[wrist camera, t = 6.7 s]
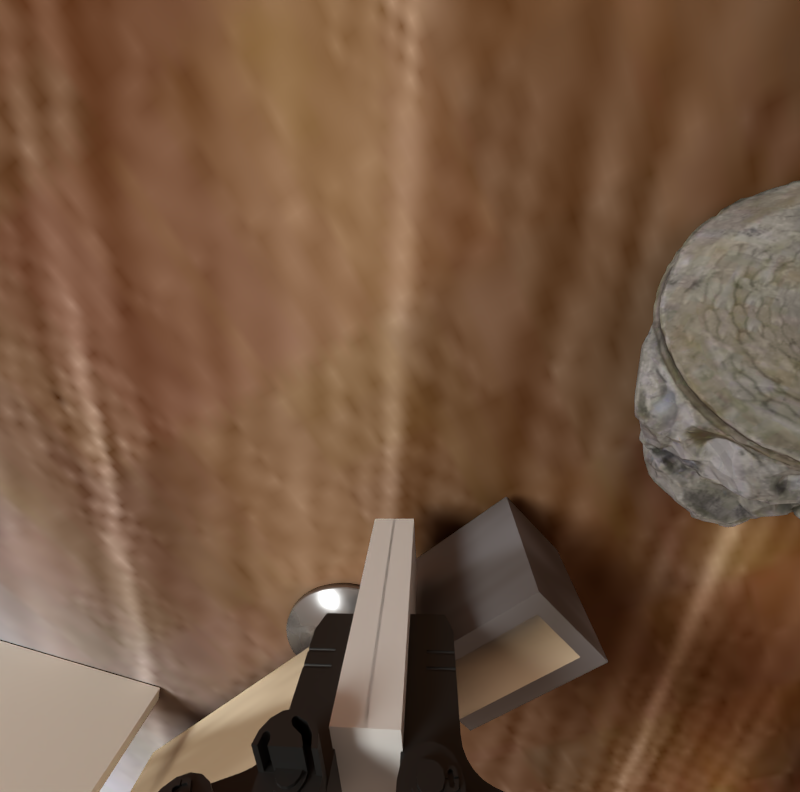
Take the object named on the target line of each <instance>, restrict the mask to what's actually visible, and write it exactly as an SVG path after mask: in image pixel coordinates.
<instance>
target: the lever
mask: <svg viewBox="0 0 800 792" xmlns="http://www.w3.org/2000/svg"><path fill="white" fill-rule="evenodd" d="M416 568H417V594H416V614H439V615H445V616H446V618H447V620H448V622H449V624H450V626H451V628H452V630H453V633H454V648H455V662H456V677H457V691H458V706H459V720H460V722H461V723H462V724H463V725H465V726H466V727H467V728H468V729H469V730H470V731H471V730H473V729H475V728H477V727H479V726H481V725H483V724H485V723H487V722H489V721H491V720H493V719H495V718H497V717H499V716H501V715H503V714H505V713H507V712H509V711H511V710H513V709H515V708H517V707H519V706H521V705H523V704H525V703H527V702H529V701H531V700H533V699H535V698H537V697H539V696H541V695H543V694H545V693H547V692H549V691H551V690H553V689H555V688H557V687H559V686H561V685H563V684H565V683H567V682H569V681H571V680H573V679H575V678H577V677H579V676H581V675H583V674H585V673H587V672H589V671H591V670H593V669H595V668H597V667H599V666H601V665H603V664H605V663H607V662H608V660H607V658H606V656H605V653H604V651H603V649H602V647H601V645H600V643H599V640H598V638H597V636H596V634H595V632H594V630H593V627H592V625H591V623H590V621H589V619H588V616H587V614H586V612H585V610H584V608H583V606H582V603H581V601H580V599H579V597H578V595H577V593H576V590H575V588H574V586H573V584H572V582H571V579H570V577H569V575H568V573H567V571H566V569H565V566H564V564H563V562H562V560H561V558H560V556H559V553H558V551H557V549H556V548H555V547H554V546H553V545H552V544H551V543H550V542H549V541H548V540H547V539H546V538H545V537H544V536H543V535H542V534H541V533H540V532H539V530H538V529H537V528H536V527H535V526H534V525H533V524H532V523H531V522H530V521H529V520H528V519H527V518H526V517H525V516H524V515H523V514H522V512H521V511H520V510H519V509H518V508H517V507H516V506H515V505H514V504H513V503H512V502H511V501H510V500H509V499H508V498H507V497H505V498H504V499H502V500H501V501H499V502H498V503H496V504H495V505H493V506H492V507H491V508H489V509H488V510H486V511H485V512H483V513H482V514H480V515H479V516H478V517H476V518H475V519H473V520H472V521H470V522H469V523H467V524H466V525H465V526H463V527H462V528H460V529H459V530H457V531H456V532H454V533H453V534H452V535H450V536H449V537H447V538H446V539H444V540H443V541H441V542H440V543H439V544H437V545H436V546H434V547H433V548H431V549H430V550H428V551H427V552H426V553H424V554H423V555H421V556H420V557H418V558H417V559H416ZM308 651H309V647H308V648H307V649H305V650H304V651H302V652H301V653H300V654H298V655H297V656H295V657H294V658H292V659H291V660H289V661H288V662H286V663H285V664H283V665H282V666H280V667H279V668H277V669H276V670H274V671H273V672H271V673H270V674H268V675H267V676H266V677H264V678H263V679H261V680H260V681H258V682H257V683H255V684H254V685H252V686H251V687H249V688H248V689H246V690H245V691H243V692H242V693H240V694H239V695H237V696H236V697H235V698H233V699H232V700H230V701H229V702H227V703H226V704H224V705H223V706H221V707H220V708H218V709H217V710H215V711H214V712H212V713H211V714H209V715H208V716H206V717H205V718H204V719H202V720H201V721H199V722H198V723H196V724H195V725H193V726H192V727H190V728H189V729H187V730H186V731H184V732H183V733H181V734H180V735H178V736H177V737H175V738H174V739H172V740H171V741H170V742H168V743H167V744H165V745H164V746H162V747H161V748H159V749H158V750H156V751H155V752H153V754H152V756H151V757H150V759H149V761H148V763H147V764H146V766H145V768H144V769H143V771H142V773H141V775H140V776H139V778H138V780H137V781H136V783H135V785H134V786H133V788H132V790H131V792H158V791H159V790H160V789H161V788H162V787H163V786H165V785H166V784H168V783H169V782H170V781H172V780H173V779H174V778H176V777H178V776H181V775H184V774H187V773H190V772H192V773H200V774H203V775H204V776H205V777H206V778H207V779H208V780H209V781H210V783H213V782H216V781H219V780H221V779H224V778H227V777H230V776H233V775H235V774H238V773H241V772H243V771H245V770H247V769H249V768H252V767H253V766H255V765H256V761H255V758H254V754H253V750H252V747H251V744H252V742H253V740H254V738H255V736H256V735H257V733H258V731H259V729H260V728H261V727H262V726H263V725H264V724H265V723H266V722H267V721H268V720H269V719H270V718H271V717H273V716H274V715H276V714H278V713H280V712H281V711H283V710H289V708H290V705H291V702H292V699H293V696H294V693H295V689H296V686H297V683H298V680H299V677H300V674H301V671H302V668H303V667H304V662H305V658H306V655H307V652H308Z"/></svg>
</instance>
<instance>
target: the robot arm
mask: <svg viewBox="0 0 800 792" xmlns="http://www.w3.org/2000/svg"><path fill="white" fill-rule="evenodd" d="M416 594H417V568H416V549H415V530H414V519H375V521H374V526H373V530H372V535H371V539H370V544H369V548H368V553H367V557H366V562H365V566H364V571H363V575H362V580H361V584H360V589H359V593H358V598H357V602H356V607H355V611H354V614H346V613H327V614H326V615H325V616H324V618H323V619H322V620H321V622H320V623H319V624H318V626H317V627H316V628H315V631H314V634H313V637H312V640H311V643H310V646H309V651H308V652H307V655H306V658H305V662H304V667H303V668H302V671H301V674H300V677H299V680H298V683H297V686H296V689H295V693H294V696H293V699H292V702H291V705H290V708H289V710H283V711H281V712H280V713H278V714H276V715H274V716H273V717H271V718H270V719H269V720H268V721H267V722H266V723H265V724H264V725H263V726H262V727H261V728H260V729H259V731H258V733H257V735H256V736H255V738H254V740H253V742H252V744H251V747H252V750H253V754H254V758H255V761H256V765H255V766H253V767H252V768H249V769H247V770H245V771H243V772H241V773H238V774H235V775H233V776H230V777H227V778H224V779H221V780H219V781H216V782H213V783H210V781H209V780H208V779H207V778H206V777H205V776H204V775H203V774H200V773H192V772H190V773H187V774H184V775H181V776H178V777H176V778H174V779H173V780H172V781H170V782H169V783H168V784H166V785H165V786H163V787H162V788H161V789H160V790H159V791H158V792H503V791H501V790H499V789H497V788H495V787H493V786H492V785H490V784H489V783H487V782H486V781H484V780H483V779H482V778H481V777H480V776H479V775H478V774H477V773H476V772H475V771H474V770H473V768H472V766H471V765H470V763H469V762H468V760H467V758H466V755H465V753H464V750H463V747H462V741H461V735H460V720H459V706H458V691H457V677H456V662H455V648H454V633H453V630H452V628H451V626H450V624H449V622H448V620H447V618H446V616H445V615H439V614H416Z"/></svg>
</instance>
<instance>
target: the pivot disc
mask: <svg viewBox="0 0 800 792" xmlns="http://www.w3.org/2000/svg"><path fill="white" fill-rule="evenodd" d="M359 589H360V585H355V584H345V583H338V584H329V585H324V586H321V587H317V588H315V589H313V590H311V591H309V592H308V593H306V594H304V595H303V596H302V597H301V598H300V599H299V600H298V601H297V602H296V604H295V605H294V607H293V609H292V611H291V613H290V616H289V618H288V622H287V637H288V641H289V644H290V646H291V648H292V650H293V652H294V653H295V654H296V656H297V655H298V654H300V653H301V652H302V651H304V650H305V649H307V648H308V647H309V646H310V643H311V640H312V637H313V634H314V631H315V628H316V627H317V626H318V624H319V623H320V622H321V620H322V619H323V618H324V616H325V615H326V614H327V613H346V614H354V611H355V607H356V602H357V598H358V593H359Z"/></svg>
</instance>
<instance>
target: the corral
mask: <svg viewBox="0 0 800 792" xmlns="http://www.w3.org/2000/svg"><path fill="white" fill-rule="evenodd" d="M159 691H160V688H159V687H155V686H152V685H149V684H145V683H142V682H138V681H135V680H132V679H128V678H125V677H121V676H118V675H115V674H111V673H108V672H105V671H101V670H98V669H94V668H91V667H88V666H84V665H81V664H78V663H74V662H71V661H67V660H64V659H61V658H57V657H54V656H50V655H47V654H44V653H40V652H37V651H34V650H30V649H27V648H23V647H20V646H17V645H13V644H10V643H6V642H3V641H0V792H99V791H100V789H101V788H102V786H103V785H104V783H105V782H106V780H107V779H108V777H109V776H110V774H111V772H112V771H113V769H114V768H115V766H116V765H117V763H118V762H119V760H120V758H121V757H122V755H123V754H124V752H125V751H126V749H127V748H128V746H129V745H130V743H131V741H132V740H133V738H134V737H135V735H136V734H137V732H138V731H139V729H140V728H141V726H142V724H143V723H144V721H145V720H146V718H147V717H148V715H149V714H150V712H151V710H152V709H153V707H154V706H155V704H156V703H157V701H158V700H159Z"/></svg>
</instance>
